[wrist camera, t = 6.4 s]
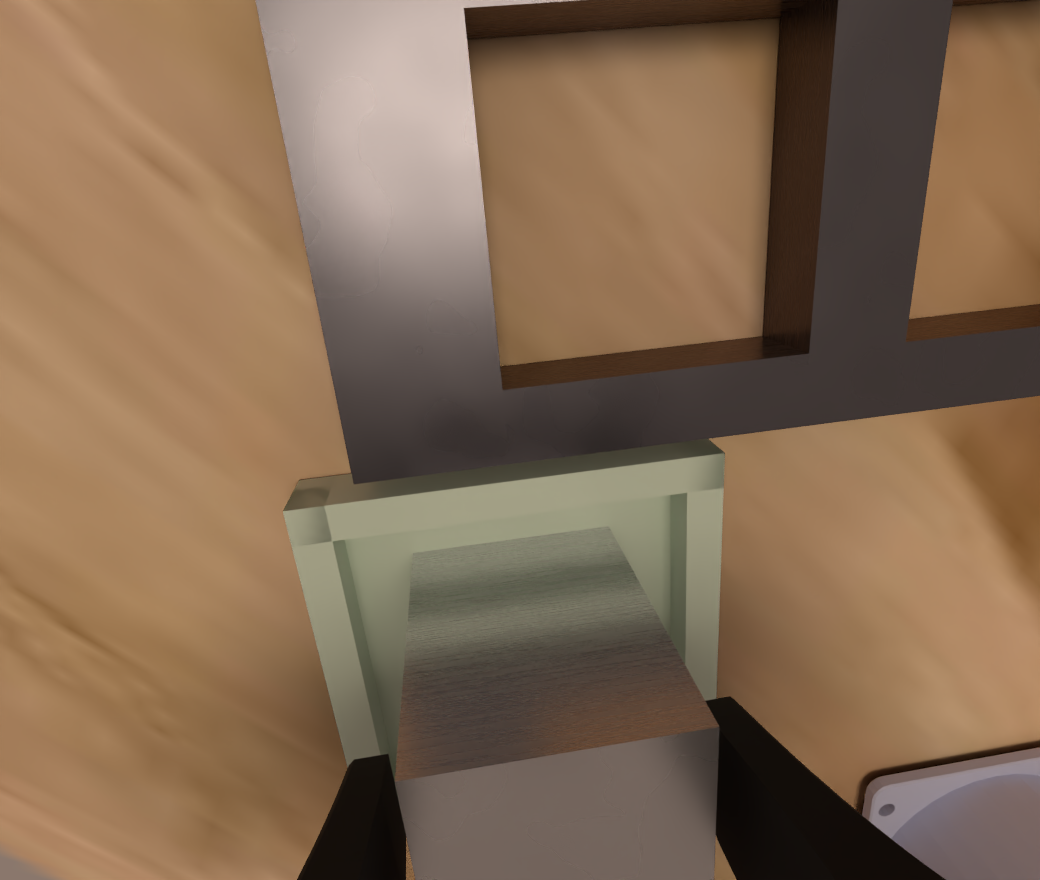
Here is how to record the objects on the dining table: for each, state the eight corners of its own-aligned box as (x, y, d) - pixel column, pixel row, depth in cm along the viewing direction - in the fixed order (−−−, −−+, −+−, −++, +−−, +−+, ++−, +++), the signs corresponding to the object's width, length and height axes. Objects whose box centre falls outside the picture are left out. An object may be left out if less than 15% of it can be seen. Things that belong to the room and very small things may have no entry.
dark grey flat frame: (1328, -112, 12) (1475, -166, 10) (1187, 347, 15) (1282, 364, 13) (267, -54, 10) (233, -108, 8) (364, 450, 13) (353, 484, 12)
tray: (691, 727, 17) (713, 772, 16) (371, 782, 17) (364, 834, 15) (696, 429, 14) (724, 452, 13) (299, 479, 13) (282, 511, 12)
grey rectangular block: (615, 681, 16) (711, 937, 10) (439, 709, 15) (438, 992, 10) (608, 526, 14) (719, 727, 9) (412, 552, 14) (394, 781, 8)
